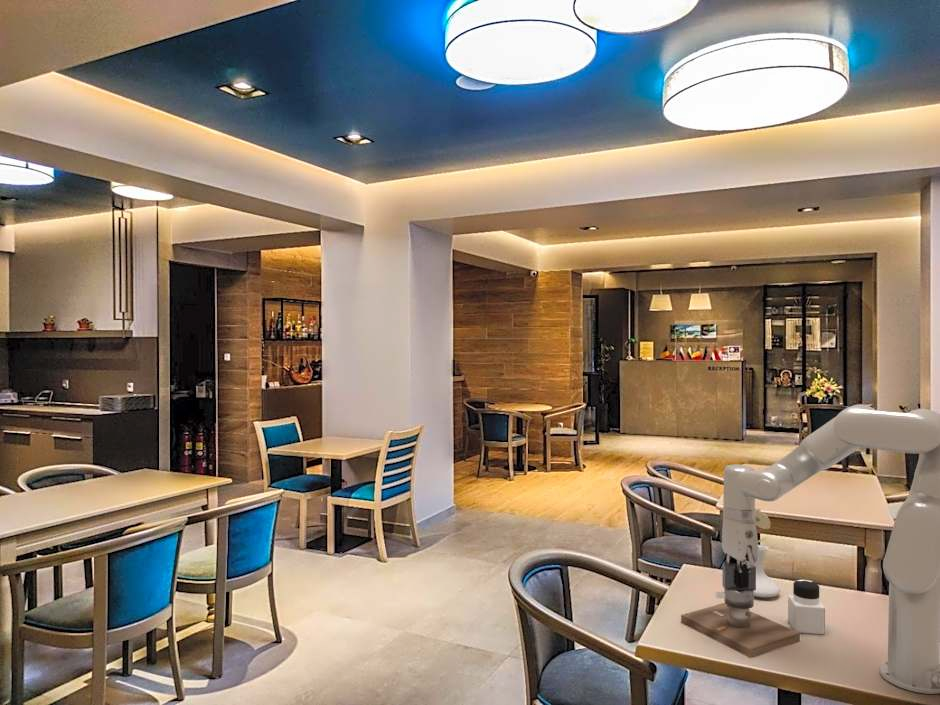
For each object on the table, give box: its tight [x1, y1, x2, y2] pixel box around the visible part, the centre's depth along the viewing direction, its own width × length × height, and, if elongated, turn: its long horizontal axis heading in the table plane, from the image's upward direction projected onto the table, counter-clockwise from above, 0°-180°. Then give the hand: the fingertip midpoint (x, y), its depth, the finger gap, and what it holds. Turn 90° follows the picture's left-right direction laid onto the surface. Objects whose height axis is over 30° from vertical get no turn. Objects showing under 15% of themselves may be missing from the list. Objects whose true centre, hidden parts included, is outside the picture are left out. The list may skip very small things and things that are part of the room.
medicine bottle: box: [787, 579, 826, 635], centre depth 174 cm, size 7×7×12 cm
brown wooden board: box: [680, 602, 801, 659], centre depth 172 cm, size 22×18×7 cm
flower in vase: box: [754, 507, 781, 598], centre depth 197 cm, size 13×11×25 cm
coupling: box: [714, 562, 756, 610], centre depth 172 cm, size 10×7×10 cm
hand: (737, 583), depth 172 cm, fingers closed on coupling, 3 cm apart
